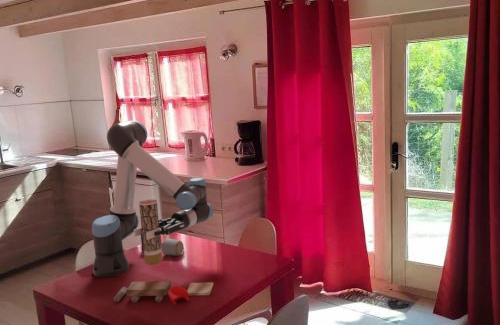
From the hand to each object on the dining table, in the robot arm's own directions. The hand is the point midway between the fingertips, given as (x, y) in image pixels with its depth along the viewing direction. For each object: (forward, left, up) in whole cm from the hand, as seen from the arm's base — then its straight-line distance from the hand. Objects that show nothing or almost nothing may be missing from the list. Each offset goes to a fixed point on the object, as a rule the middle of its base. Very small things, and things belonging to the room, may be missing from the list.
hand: (140, 234), depth 182 cm
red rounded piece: (+16, -13, -22) cm, 30 cm away
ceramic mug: (+2, +37, -22) cm, 43 cm away
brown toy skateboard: (+2, -9, -22) cm, 23 cm away
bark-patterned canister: (+3, +4, -13) cm, 14 cm away
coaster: (+22, -3, -22) cm, 31 cm away
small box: (-11, +46, -22) cm, 52 cm away
